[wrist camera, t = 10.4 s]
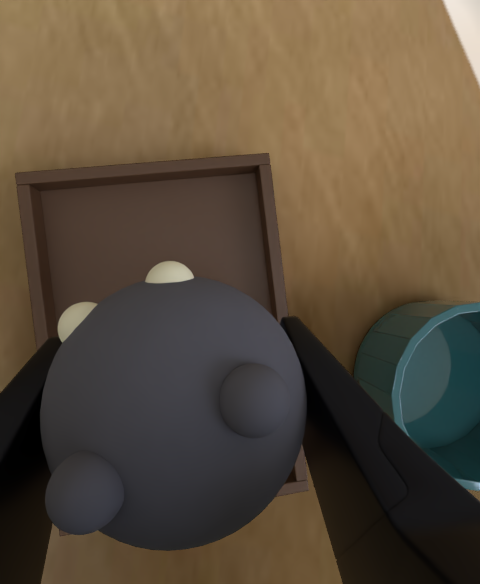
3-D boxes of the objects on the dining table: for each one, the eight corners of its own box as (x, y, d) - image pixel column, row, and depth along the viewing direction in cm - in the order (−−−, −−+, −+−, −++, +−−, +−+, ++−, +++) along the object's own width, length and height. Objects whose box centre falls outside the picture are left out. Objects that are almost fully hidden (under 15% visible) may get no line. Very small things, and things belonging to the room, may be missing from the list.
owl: (279, 379, 17) (426, 531, 6) (158, 444, 16) (74, 749, 5) (219, 259, 16) (258, 190, 6) (94, 321, 16) (-131, 375, 5)
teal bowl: (340, 438, 24) (376, 476, 19) (368, 287, 25) (411, 286, 20) (479, 461, 25) (547, 501, 20) (505, 316, 26) (578, 321, 21)
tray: (299, 474, 24) (309, 491, 22) (71, 515, 22) (59, 537, 20) (263, 164, 24) (269, 152, 22) (30, 183, 22) (14, 172, 20)
